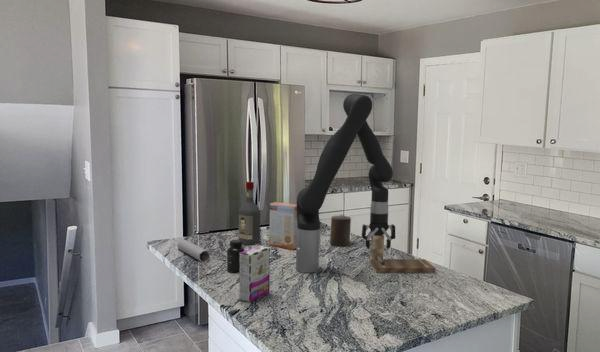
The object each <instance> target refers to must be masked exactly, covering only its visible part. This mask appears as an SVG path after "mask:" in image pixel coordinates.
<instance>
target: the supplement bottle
mask: <svg viewBox="0 0 600 352" xmlns="http://www.w3.org/2000/svg"><path fill="white" fill-rule="evenodd" d="M226 251H227V253H226V254H227V255H226V269H227V272H228V273H229V272H230V273H233V274H234V273H235V274H236V273H238V274H239V273H240V261H239V259H240V258H239V253H240V252H243V251H246V250H245V248H244V247H243V244H242V240H239V239H231V240H230V241H229V247H228V248H227V250H226Z"/></svg>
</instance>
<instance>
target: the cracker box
mask: <svg viewBox="0 0 600 352" xmlns="http://www.w3.org/2000/svg"><path fill="white" fill-rule="evenodd" d="M268 229H269V233H268V234H269V236H268V237H269V238H268V240H269V241H268V246H271V247H276V248H277V247H278V248H283V249H288V250H290V251H291V250H293V251H294V250H296V245H297V203H296V204H295V203H287V202H278V201H275V202H271V203H269V228H268Z"/></svg>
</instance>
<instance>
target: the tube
mask: <svg viewBox="0 0 600 352" xmlns="http://www.w3.org/2000/svg"><path fill="white" fill-rule="evenodd" d="M177 249H179V251H182V252H184V253H185V254H186V255H188V256H190V257H192V258H193V259H195V260H197V261H199V262H200V263H207V262H208V261H209V260H210V259H211V253H210V252H209V250H208V249H204V248H202V247H200V246H198V245H197V244H195V243H193V242H191V241H188V240H187V239H181V240H178V242H177Z"/></svg>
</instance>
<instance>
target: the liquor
mask: <svg viewBox="0 0 600 352" xmlns="http://www.w3.org/2000/svg"><path fill="white" fill-rule="evenodd" d="M245 183H246V184H245V188H246V191H245V192H246V193H245V194H246V195H245V202H243V204H242V205H241V206H240V207H239V210H238V240H242V245H245V246H253V245H257V244H260V241H261V235H260V234H261V209H260V207H259V205H257V204H256V203H255V200H254V186H255V185H254V183H255V182H254V181H245Z"/></svg>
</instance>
